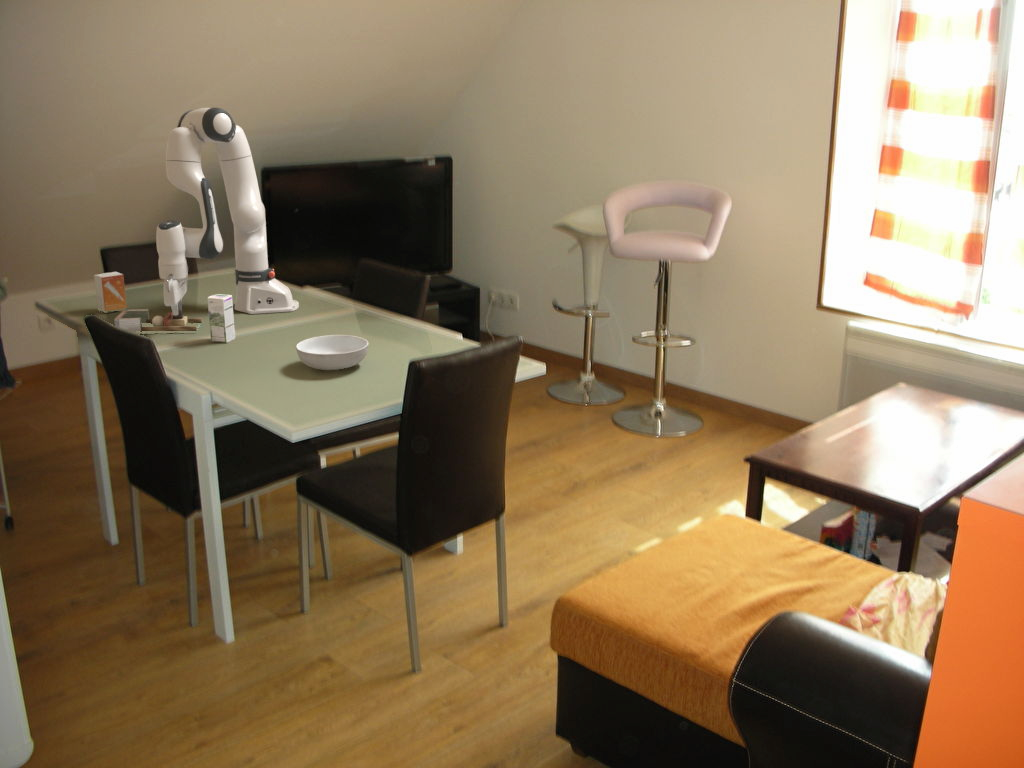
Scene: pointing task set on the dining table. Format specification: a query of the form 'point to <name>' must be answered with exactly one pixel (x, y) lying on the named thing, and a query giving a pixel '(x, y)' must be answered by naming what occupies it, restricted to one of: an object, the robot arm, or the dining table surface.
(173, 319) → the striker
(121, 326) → the grey-white box
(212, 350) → the dining table surface
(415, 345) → the dining table surface
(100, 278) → the small box
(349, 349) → the serving bowl
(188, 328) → the rails
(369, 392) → the dining table surface
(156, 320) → the ball
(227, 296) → the syrup box
